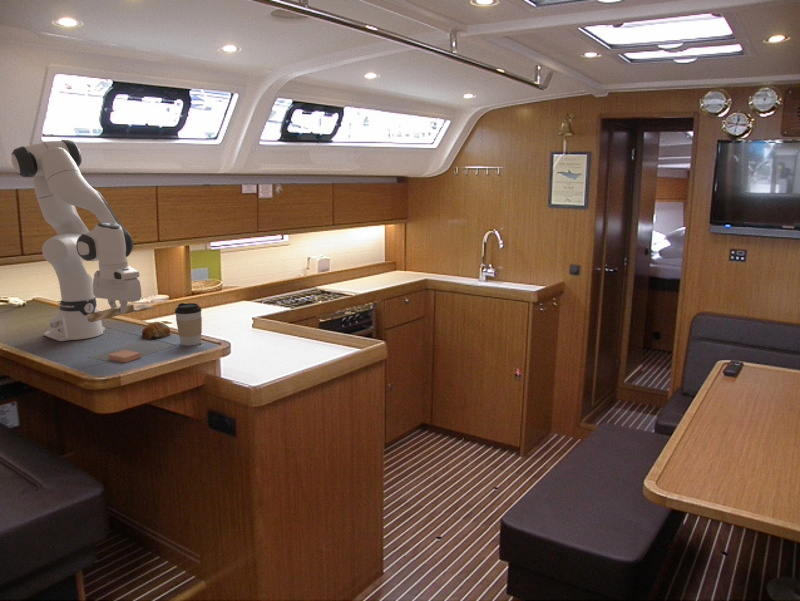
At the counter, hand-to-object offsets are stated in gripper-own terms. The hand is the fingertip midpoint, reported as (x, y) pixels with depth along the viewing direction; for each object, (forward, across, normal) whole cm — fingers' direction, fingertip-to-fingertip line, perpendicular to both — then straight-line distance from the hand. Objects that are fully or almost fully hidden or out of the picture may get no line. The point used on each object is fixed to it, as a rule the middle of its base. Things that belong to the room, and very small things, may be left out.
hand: (118, 312), depth 217 cm
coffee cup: (+15, +13, +18) cm, 27 cm away
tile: (+13, +4, -6) cm, 14 cm away
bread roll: (+15, -7, +20) cm, 25 cm away
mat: (+14, +3, +2) cm, 15 cm away
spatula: (+1, 0, +1) cm, 1 cm away
